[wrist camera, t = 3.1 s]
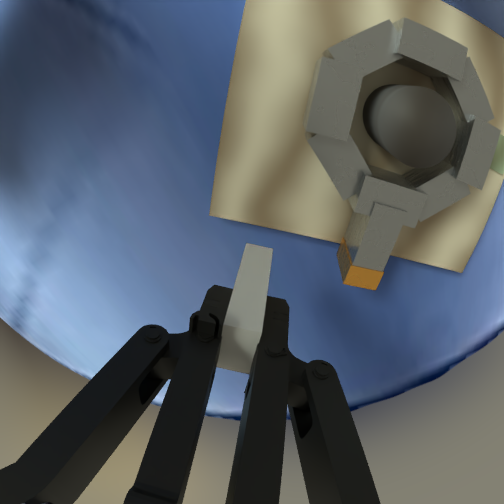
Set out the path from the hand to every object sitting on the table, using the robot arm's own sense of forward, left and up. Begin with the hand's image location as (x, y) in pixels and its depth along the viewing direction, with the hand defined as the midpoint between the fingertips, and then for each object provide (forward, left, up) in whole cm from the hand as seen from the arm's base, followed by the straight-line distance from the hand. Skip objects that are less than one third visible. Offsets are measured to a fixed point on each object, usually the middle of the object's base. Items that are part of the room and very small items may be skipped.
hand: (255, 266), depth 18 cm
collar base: (+8, +10, -9) cm, 15 cm away
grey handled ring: (+8, +7, -7) cm, 13 cm away
